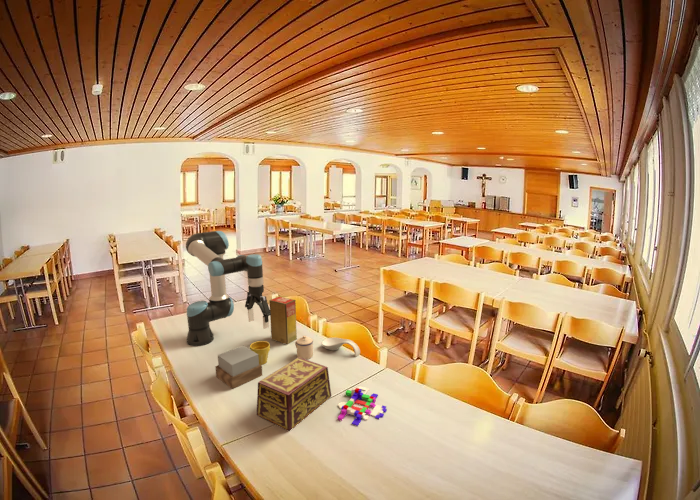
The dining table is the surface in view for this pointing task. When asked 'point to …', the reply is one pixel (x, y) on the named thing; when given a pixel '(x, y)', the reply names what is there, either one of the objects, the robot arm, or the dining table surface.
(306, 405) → the decorative box
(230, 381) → the walnut base block
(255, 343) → the plant pot
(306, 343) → the teacup with lid
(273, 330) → the food packaging
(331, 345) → the spoon rest
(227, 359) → the grey top block
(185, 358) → the dining table surface
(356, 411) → the building block set
